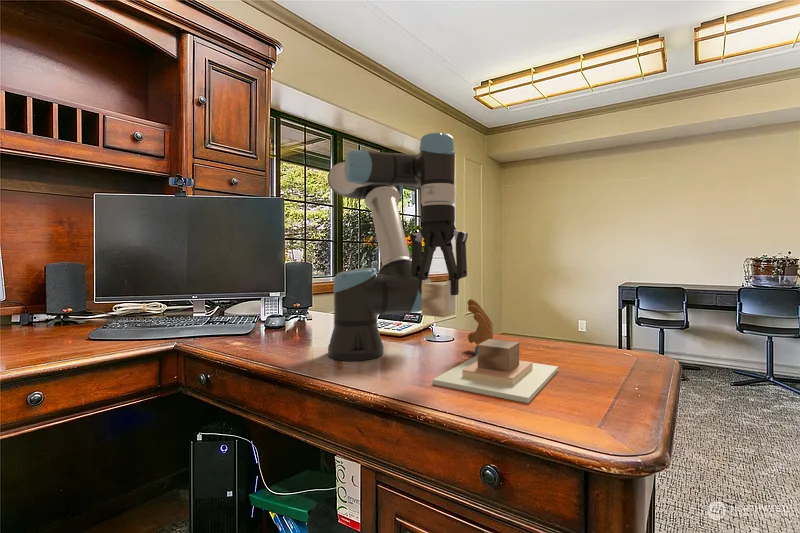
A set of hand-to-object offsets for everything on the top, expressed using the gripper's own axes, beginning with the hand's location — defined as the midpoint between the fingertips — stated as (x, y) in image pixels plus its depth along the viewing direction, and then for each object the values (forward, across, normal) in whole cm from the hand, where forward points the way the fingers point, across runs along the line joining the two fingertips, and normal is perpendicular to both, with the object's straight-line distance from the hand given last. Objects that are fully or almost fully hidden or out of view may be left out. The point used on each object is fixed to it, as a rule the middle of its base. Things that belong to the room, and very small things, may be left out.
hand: (438, 308), depth 91 cm
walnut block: (+13, +12, +6) cm, 18 cm away
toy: (+15, 0, +23) cm, 28 cm away
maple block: (+1, 0, 0) cm, 1 cm away
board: (+15, +12, +6) cm, 20 cm away
